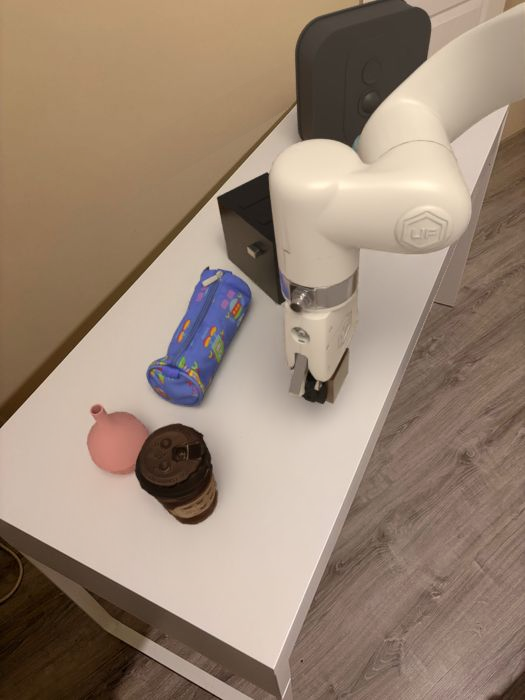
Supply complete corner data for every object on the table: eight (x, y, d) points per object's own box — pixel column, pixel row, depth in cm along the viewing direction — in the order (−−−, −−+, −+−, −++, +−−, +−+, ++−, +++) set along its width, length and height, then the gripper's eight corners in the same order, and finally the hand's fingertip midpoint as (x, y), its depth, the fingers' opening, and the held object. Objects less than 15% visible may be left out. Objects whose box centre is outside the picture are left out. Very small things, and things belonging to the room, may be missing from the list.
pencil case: (210, 295, 84) (199, 252, 76) (258, 304, 81) (251, 261, 74) (152, 403, 71) (132, 364, 64) (206, 417, 69) (192, 379, 62)
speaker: (396, 119, 113) (413, -11, 93) (419, 136, 107) (441, 2, 88) (298, 152, 108) (293, 22, 88) (316, 171, 103) (316, 38, 83)
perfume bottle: (114, 494, 63) (78, 452, 54) (90, 451, 67) (53, 405, 58) (166, 459, 66) (140, 413, 56) (140, 420, 70) (112, 371, 60)
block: (311, 360, 64) (310, 336, 60) (348, 372, 62) (349, 348, 58) (295, 390, 62) (293, 367, 58) (333, 404, 60) (333, 380, 56)
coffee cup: (242, 491, 62) (227, 443, 52) (201, 548, 58) (176, 509, 48) (189, 457, 66) (165, 406, 55) (147, 509, 62) (113, 465, 51)
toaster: (272, 234, 92) (266, 171, 82) (325, 276, 84) (326, 213, 74) (222, 261, 89) (210, 199, 78) (272, 308, 80) (266, 246, 70)
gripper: (320, 351, 42) (323, 448, 56) (385, 228, 50) (374, 339, 65) (242, 326, 44) (264, 425, 59) (317, 213, 53) (320, 323, 67)
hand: (322, 379), depth 62 cm, fingers closed on block, 5 cm apart
